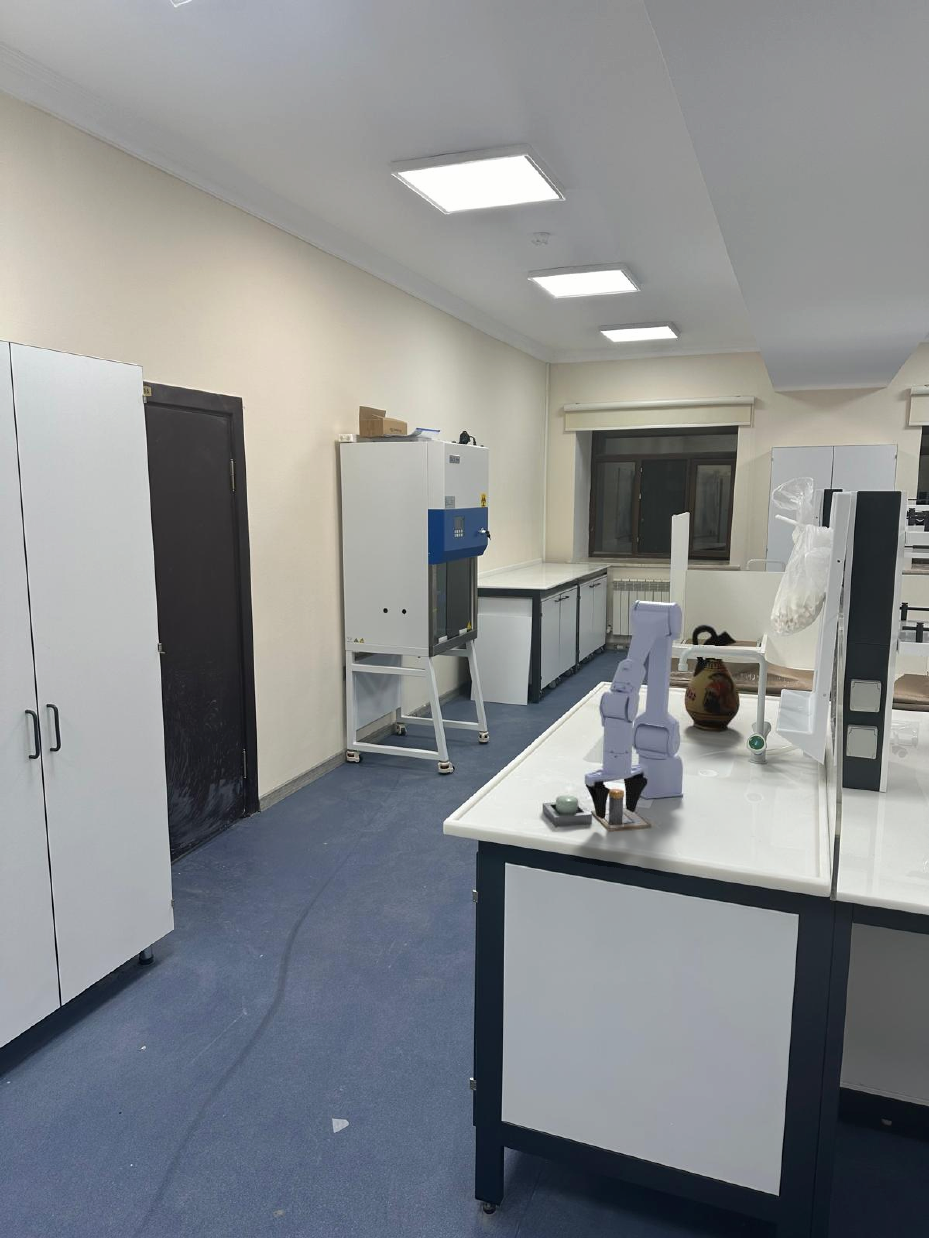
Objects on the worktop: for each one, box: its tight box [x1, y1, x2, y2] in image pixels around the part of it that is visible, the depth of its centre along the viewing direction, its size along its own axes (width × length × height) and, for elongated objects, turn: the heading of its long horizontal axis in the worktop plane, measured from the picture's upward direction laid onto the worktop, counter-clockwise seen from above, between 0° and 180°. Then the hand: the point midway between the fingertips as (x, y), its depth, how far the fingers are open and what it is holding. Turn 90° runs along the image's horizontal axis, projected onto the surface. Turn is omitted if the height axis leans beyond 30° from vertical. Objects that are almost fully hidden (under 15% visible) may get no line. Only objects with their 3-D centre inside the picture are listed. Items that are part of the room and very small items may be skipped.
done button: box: [555, 795, 579, 815], centre depth 170 cm, size 5×5×3 cm
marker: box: [608, 788, 625, 825], centre depth 166 cm, size 3×3×6 cm
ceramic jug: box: [684, 624, 741, 732], centre depth 237 cm, size 17×15×30 cm
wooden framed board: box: [590, 807, 652, 832], centre depth 169 cm, size 9×10×1 cm
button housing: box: [542, 800, 593, 828], centre depth 170 cm, size 8×8×2 cm
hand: (615, 813), depth 166 cm, fingers open, 7 cm apart
